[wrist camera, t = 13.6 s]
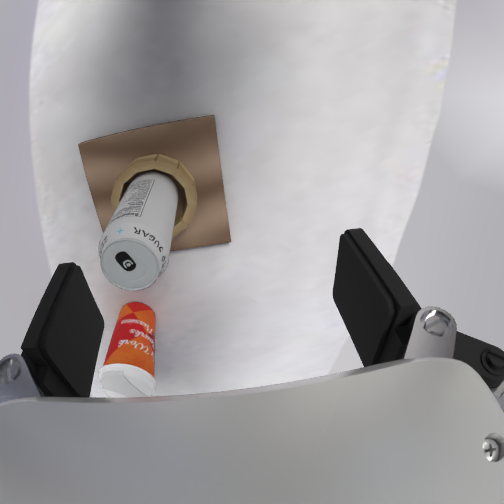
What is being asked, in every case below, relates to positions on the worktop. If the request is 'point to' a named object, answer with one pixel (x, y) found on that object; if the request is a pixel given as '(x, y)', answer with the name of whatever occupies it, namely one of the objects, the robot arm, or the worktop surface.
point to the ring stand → (171, 164)
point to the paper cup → (131, 354)
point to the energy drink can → (140, 232)
